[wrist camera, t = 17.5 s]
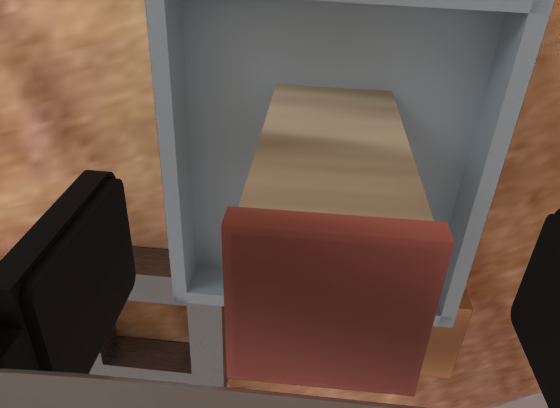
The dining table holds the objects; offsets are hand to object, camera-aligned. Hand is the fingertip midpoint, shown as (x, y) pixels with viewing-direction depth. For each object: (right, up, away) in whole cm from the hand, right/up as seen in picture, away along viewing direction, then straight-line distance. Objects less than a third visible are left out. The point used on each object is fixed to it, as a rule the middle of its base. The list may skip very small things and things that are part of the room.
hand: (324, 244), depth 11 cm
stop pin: (+1, +3, +5) cm, 6 cm away
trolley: (+1, +5, +8) cm, 10 cm away
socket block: (-8, -5, +15) cm, 17 cm away
